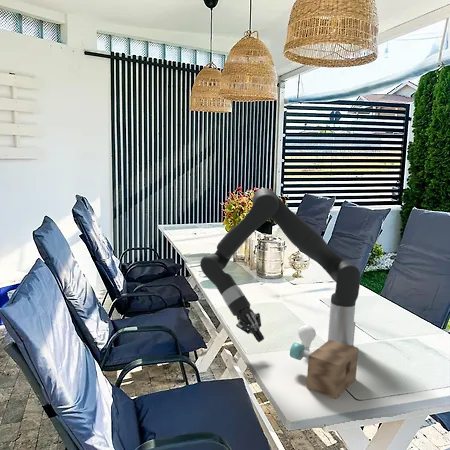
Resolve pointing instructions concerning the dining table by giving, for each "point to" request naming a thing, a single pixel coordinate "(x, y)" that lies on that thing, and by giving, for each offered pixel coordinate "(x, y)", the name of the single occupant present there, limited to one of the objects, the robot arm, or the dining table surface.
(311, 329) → the lightbulb
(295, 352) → the knob
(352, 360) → the mount
